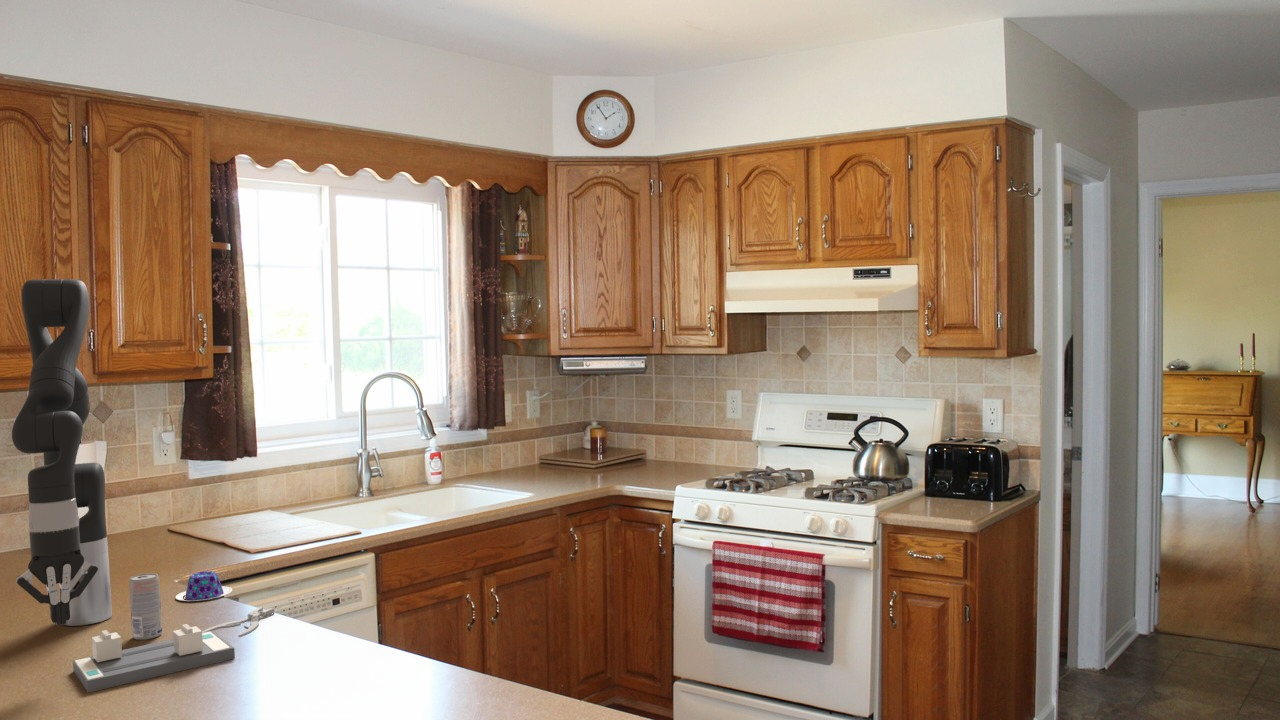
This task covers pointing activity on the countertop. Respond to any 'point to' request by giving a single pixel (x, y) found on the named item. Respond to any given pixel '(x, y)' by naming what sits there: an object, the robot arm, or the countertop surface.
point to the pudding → (203, 587)
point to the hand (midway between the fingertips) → (60, 623)
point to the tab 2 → (187, 640)
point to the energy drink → (145, 606)
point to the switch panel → (149, 662)
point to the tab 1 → (106, 646)
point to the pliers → (252, 616)
